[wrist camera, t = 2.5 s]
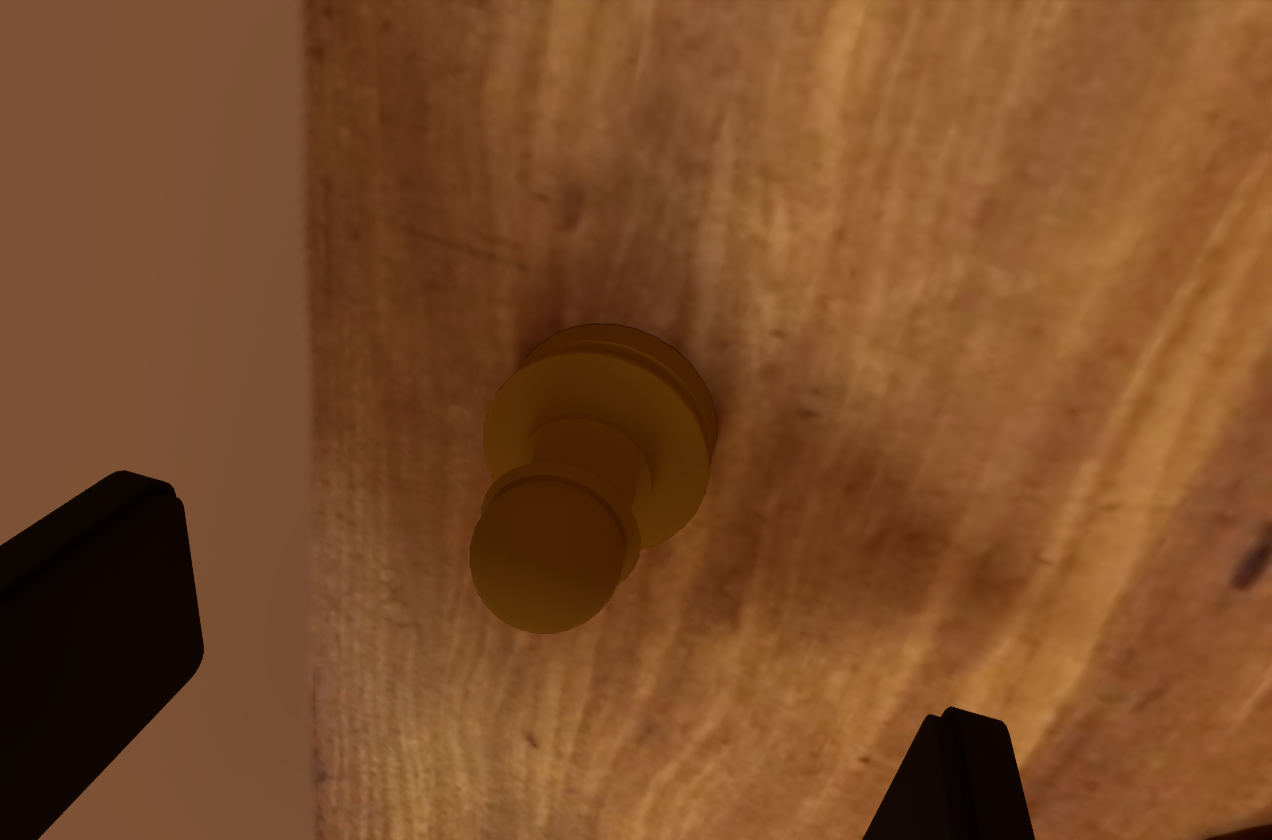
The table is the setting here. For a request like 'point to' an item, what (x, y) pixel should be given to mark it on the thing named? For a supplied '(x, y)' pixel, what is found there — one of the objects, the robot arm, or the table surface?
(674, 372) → the chess piece
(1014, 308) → the table surface
